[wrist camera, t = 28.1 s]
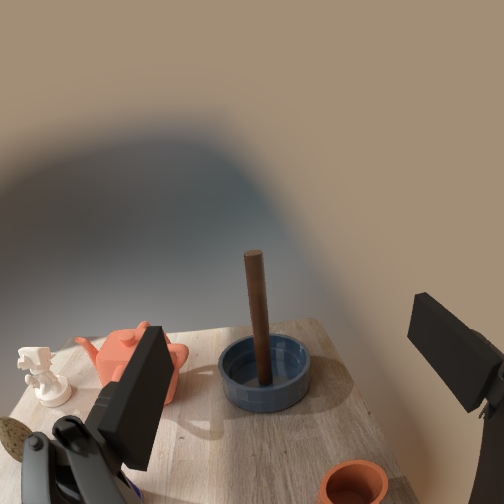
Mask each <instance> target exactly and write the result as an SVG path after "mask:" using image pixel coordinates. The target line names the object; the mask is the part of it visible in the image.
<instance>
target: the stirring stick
mask: <svg viewBox="0 0 504 504" xmlns="http://www.w3.org/2000/svg"><path fill="white" fill-rule="evenodd" d="M244 260H245V268H246V278H247V287H248V296H249V305H250V314H251V322H252V331H253V340H254V348H255V357H256V365H257V373H258V382H259V384H261V385H263V386H267V385H270V384H271V383H272V382H273V373H272V360H271V347H270V334H269V323H268V310H267V297H266V286H265V274H264V262H263V252H262V251H260V250H251V251H247V252H245V253H244Z"/></svg>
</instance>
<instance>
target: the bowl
mask: <svg viewBox="0 0 504 504" xmlns="http://www.w3.org/2000/svg"><path fill="white" fill-rule="evenodd" d="M269 334H270V347H271V360H272V373H273V382H272V383H271V384H270V385H267V386H263V385H261V384H259V382H258V373H257V365H256V357H255V348H254V340H253V335H251V336H247V337H244V338H242V339H239V340H237V341H235V342H234V343H232V344H231V345H229V346H228V347H227V348H226V349H225V350H224V351H223V352H222V354H221V356H220V358H219V362H218V368H219V373H220V377H221V381H222V386H223V389H224V392H225V395H226V396H227V398H228V399H229V400H230V401H231V402H232V403H233V404H235V405H236V406H238V407H239V408H242V409H245V410H248V411H251V412H261V413H263V412H264V413H266V412H275V411H279V410H282V409H285V408H288V407H290V406H292V405H293V404H295V403H297V402H298V401H299V400H300V399H301V398H302V397H303V396H304V395H305V394H306V392H307V390H308V388H309V382H310V360H311V356H310V353H309V351H308V349H307V348H306V346H305V345H304V344H303V343H301V342H300V341H298V340H297V339H295V338H292V337H289V336H286V335H281V334H271V333H269Z"/></svg>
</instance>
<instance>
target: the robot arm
mask: <svg viewBox="0 0 504 504" xmlns="http://www.w3.org/2000/svg"><path fill="white" fill-rule="evenodd" d="M407 337H408V338H409V340H410V341H411V342H412V343H413V344H414V345H415V347H416V348H417V349H418V350H419V351H420V353H421V354H422V355H423V356H424V357H425V359H426V360H427V361H428V362H429V364H430V365H431V366H432V367H433V369H434V370H435V371H436V372H437V373H438V375H439V376H440V377H441V379H442V380H443V381H444V382H445V384H446V385H447V386H448V387H449V389H450V390H451V391H452V393H453V394H454V395H455V397H456V398H457V399H458V401H459V402H460V403H461V405H462V406H463V407H464V409H465V410H466V411H467V412H468V413H470V412H471V411H473V410H475V409H477V408H478V407H479V406H480V404H481V403H482V401H483V399H484V398H486V399H487V401H488V402H487V403H486V405H485V407H484V408H483V410H482V412H481V413H480V415H479V418H481V417H482V415H483V413H485V416H484V418H483V419H484V428H483V436H482V444H481V450H480V456H479V462H478V467H477V472H476V477H475V481H474V485H473V489H472V492H471V496H470V500H469V503H468V504H504V354H503V353H502V352H501V351H499V350H498V349H497V348H496V347H495V346H494V345H493V344H491V342H490V341H489V340H487V339H486V338H485V337H484V336H483V335H482V334H481V333H479V332H477V331H475V330H473V329H469V328H468V327H467V326H466V325H465V324H464V323H462V322H461V321H460V320H459V319H458V318H457V317H455V316H454V315H453V314H452V313H451V312H449V311H448V310H447V309H445V308H444V307H443V306H442V305H441V304H440V303H438V302H437V301H436V300H435V299H434V298H432V297H431V296H430V295H429V294H427V293H426V292H424V293H420V294H416V295H415V299H414V304H413V310H412V315H411V321H410V326H409V331H408V335H407ZM174 369H175V368H174V365H173V362H172V359H171V356H170V352H169V349H168V346H167V343H166V340H165V336H164V333H163V330H162V326H147V328H146V330H145V332H144V334H143V336H142V337H141V339H140V341H139V343H138V345H137V347H136V349H135V351H134V353H133V354H132V356H131V358H130V360H129V362H128V364H127V366H126V368H125V370H124V372H123V374H122V376H121V378H120V380H119V382H116V381H110V382H109V383H108V384H107V385H106V386H105V387H103V388H102V390H101V392H100V394H99V396H98V398H97V400H96V402H95V405H94V406H93V408H92V410H91V411H90V413H89V415H88V417H87V419H86V421H85V423H84V424H83V422H82V421H81V420H80V418H78V417H76V416H72V415H68V416H64V417H62V418H60V419H58V420H57V421H56V423H55V424H54V426H53V428H52V434H53V435H54V436H55V438H56V439H57V440H50V439H49V438H48V437H47V436H46V435H45V434H44V433H42V432H37V431H36V432H33V433H31V434H29V435H28V436H27V437H26V439H25V440H24V444H23V454H22V471H21V500H22V504H143V502H142V501H141V500H140V498H139V496H138V495H137V493H136V492H135V490H134V489H133V487H132V486H131V484H130V482H129V481H128V479H127V477H126V476H125V474H124V472H123V471H122V470H121V466H122V463H123V462H124V464H125V465H126V466H127V467H128V468H129V469H134V470H140V471H146V472H147V467H148V463H149V459H150V455H151V452H152V448H153V444H154V440H155V436H156V432H157V429H158V425H159V421H160V418H161V414H162V410H163V407H164V403H165V400H166V396H167V393H168V389H169V386H170V382H171V379H172V376H173V372H174Z"/></svg>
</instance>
